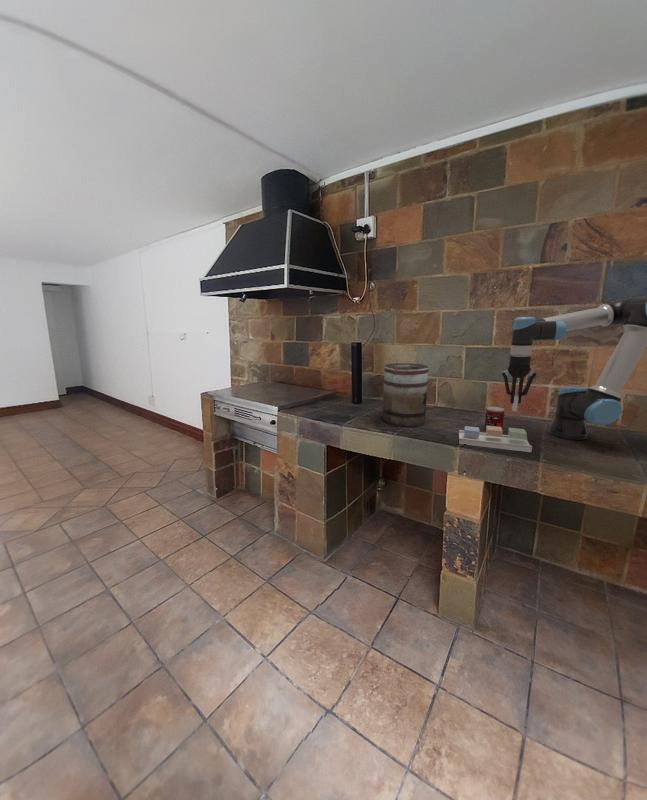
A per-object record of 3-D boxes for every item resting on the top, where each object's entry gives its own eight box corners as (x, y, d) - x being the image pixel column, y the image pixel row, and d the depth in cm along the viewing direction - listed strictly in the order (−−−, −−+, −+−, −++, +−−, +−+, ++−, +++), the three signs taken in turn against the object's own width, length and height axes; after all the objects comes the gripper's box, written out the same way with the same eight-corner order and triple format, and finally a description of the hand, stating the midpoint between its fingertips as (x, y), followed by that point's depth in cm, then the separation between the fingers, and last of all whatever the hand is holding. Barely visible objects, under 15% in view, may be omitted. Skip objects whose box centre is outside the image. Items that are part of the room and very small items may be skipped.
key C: (478, 433, 154) (478, 427, 153) (478, 438, 149) (479, 431, 148) (463, 432, 156) (464, 426, 156) (464, 436, 151) (464, 430, 150)
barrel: (432, 421, 182) (437, 366, 175) (409, 430, 167) (412, 370, 160) (398, 412, 198) (400, 362, 191) (373, 420, 184) (375, 366, 176)
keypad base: (525, 442, 151) (526, 437, 150) (531, 452, 140) (532, 446, 139) (458, 435, 160) (459, 430, 160) (459, 443, 150) (459, 438, 149)
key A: (523, 435, 148) (524, 429, 147) (525, 440, 142) (526, 433, 141) (507, 434, 150) (508, 427, 149) (509, 438, 144) (510, 431, 144)
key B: (500, 433, 151) (501, 427, 150) (502, 438, 145) (502, 431, 145) (485, 432, 153) (486, 425, 152) (486, 436, 147) (487, 429, 147)
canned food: (480, 428, 170) (483, 407, 167) (493, 426, 172) (495, 405, 170) (493, 433, 163) (495, 411, 160) (505, 431, 165) (508, 409, 163)
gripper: (537, 354, 139) (530, 409, 145) (501, 354, 144) (496, 407, 150) (540, 356, 133) (533, 414, 138) (503, 356, 137) (498, 411, 143)
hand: (514, 410), depth 144 cm, fingers closed
